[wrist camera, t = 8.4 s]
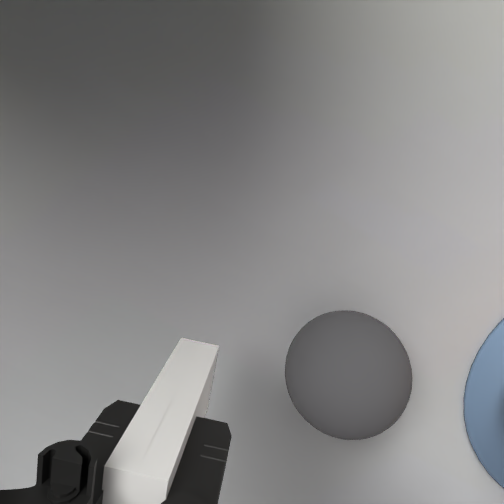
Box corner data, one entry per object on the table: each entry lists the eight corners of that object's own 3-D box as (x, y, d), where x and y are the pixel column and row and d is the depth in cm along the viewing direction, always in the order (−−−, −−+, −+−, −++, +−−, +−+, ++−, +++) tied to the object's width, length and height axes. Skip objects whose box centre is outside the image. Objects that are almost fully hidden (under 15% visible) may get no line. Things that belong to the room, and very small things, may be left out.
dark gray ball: (449, 430, 14) (433, 361, 20) (349, 310, 15) (359, 274, 20) (330, 490, 16) (344, 414, 22) (244, 384, 17) (278, 333, 22)
